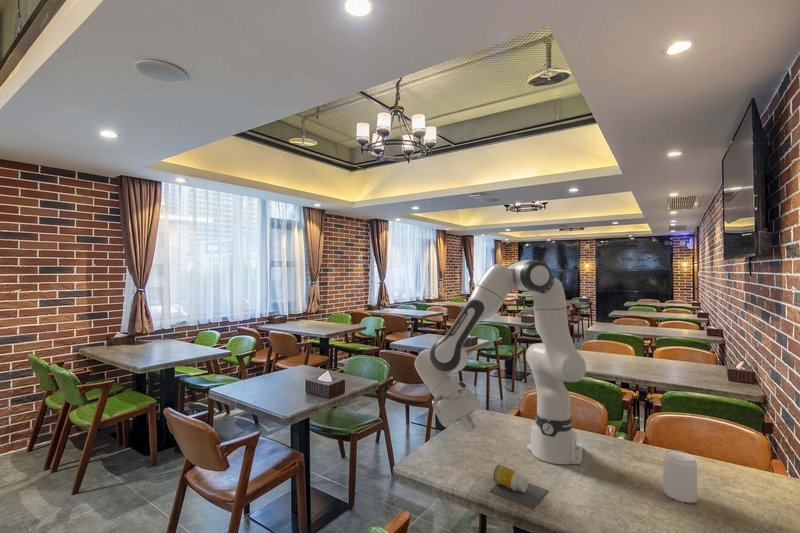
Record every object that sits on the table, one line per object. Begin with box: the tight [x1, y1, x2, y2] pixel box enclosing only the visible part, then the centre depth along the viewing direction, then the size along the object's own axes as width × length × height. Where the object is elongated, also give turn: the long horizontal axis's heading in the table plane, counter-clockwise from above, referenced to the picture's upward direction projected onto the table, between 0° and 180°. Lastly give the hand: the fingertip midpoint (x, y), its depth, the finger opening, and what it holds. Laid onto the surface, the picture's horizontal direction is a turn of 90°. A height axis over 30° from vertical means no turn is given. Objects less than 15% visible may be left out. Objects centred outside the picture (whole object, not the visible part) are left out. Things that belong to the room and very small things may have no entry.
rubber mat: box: [489, 482, 549, 510], centre depth 114 cm, size 12×13×1 cm
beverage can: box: [662, 449, 698, 504], centre depth 114 cm, size 8×8×12 cm
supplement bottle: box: [491, 463, 529, 492], centre depth 116 cm, size 5×5×10 cm
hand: (472, 429), depth 125 cm, fingers closed
